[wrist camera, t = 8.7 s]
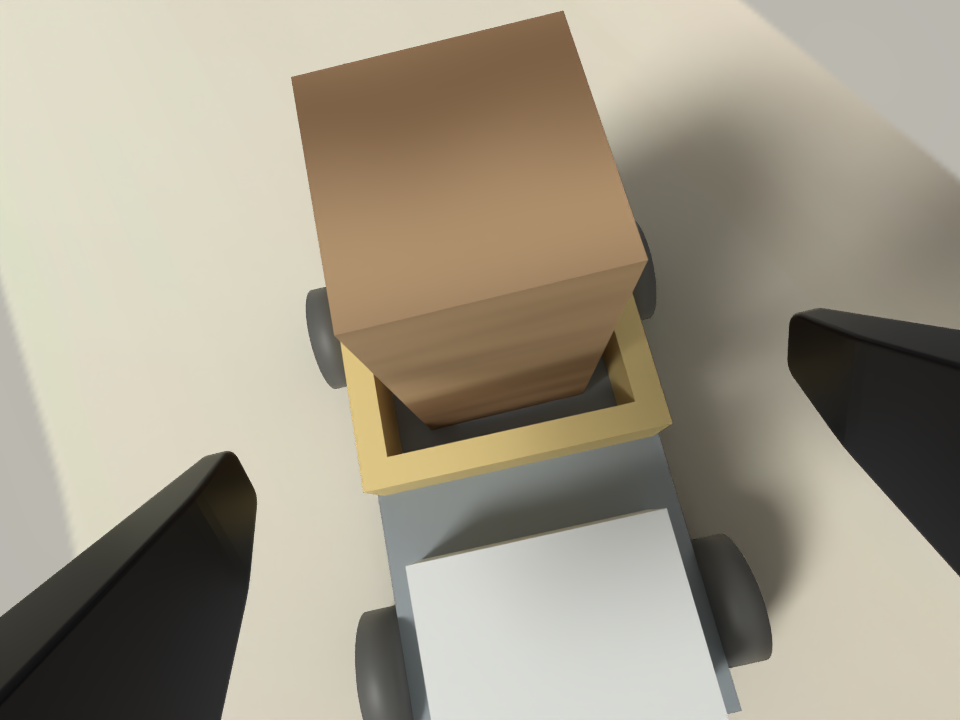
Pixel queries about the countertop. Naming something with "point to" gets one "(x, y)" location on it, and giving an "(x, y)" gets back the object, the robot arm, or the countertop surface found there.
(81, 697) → the robot arm
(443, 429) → the toy chassis
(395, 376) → the walnut block
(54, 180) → the countertop surface
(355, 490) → the countertop surface
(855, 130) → the countertop surface
